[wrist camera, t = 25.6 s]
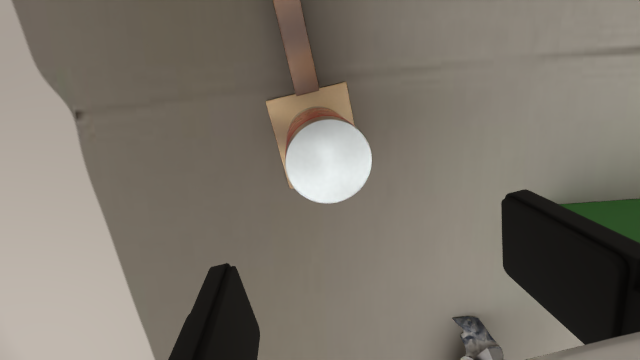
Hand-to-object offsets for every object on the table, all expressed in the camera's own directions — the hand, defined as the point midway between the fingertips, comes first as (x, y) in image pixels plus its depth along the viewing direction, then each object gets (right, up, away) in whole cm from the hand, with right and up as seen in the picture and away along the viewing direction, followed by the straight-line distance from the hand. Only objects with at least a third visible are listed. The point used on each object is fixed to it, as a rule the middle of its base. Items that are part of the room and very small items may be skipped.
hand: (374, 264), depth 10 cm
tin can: (-2, +8, +22) cm, 24 cm away
